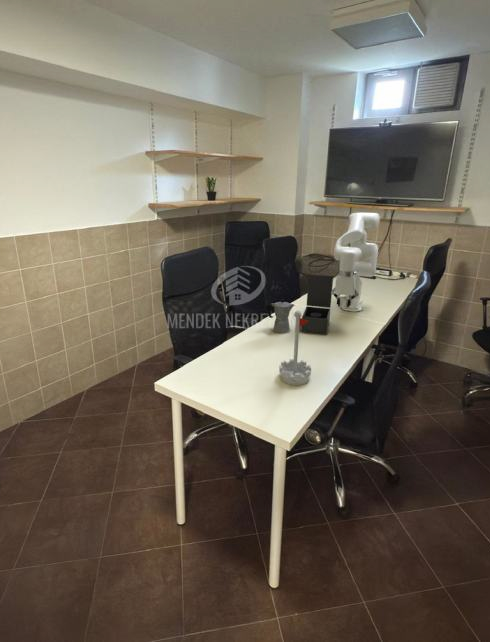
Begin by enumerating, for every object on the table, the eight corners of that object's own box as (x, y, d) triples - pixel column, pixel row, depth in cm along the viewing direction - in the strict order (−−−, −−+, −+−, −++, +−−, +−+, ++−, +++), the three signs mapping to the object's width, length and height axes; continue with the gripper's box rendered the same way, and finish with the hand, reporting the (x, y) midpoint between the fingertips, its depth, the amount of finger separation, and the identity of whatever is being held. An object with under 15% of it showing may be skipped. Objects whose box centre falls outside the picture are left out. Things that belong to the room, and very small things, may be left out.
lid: (333, 275, 201) (333, 275, 205) (308, 274, 205) (309, 273, 209) (330, 307, 203) (331, 306, 208) (306, 305, 208) (307, 304, 212)
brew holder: (313, 326, 202) (314, 311, 199) (322, 329, 197) (323, 314, 195) (307, 329, 198) (308, 314, 195) (316, 332, 194) (317, 317, 191)
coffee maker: (326, 334, 191) (327, 319, 188) (301, 331, 195) (302, 316, 192) (329, 322, 207) (330, 308, 204) (305, 320, 211) (306, 306, 208)
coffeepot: (291, 326, 202) (293, 296, 196) (295, 333, 193) (296, 301, 188) (264, 327, 202) (265, 296, 196) (266, 333, 193) (267, 302, 187)
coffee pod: (342, 304, 195) (342, 295, 194) (349, 306, 192) (350, 297, 190) (337, 306, 192) (338, 297, 191) (344, 308, 189) (345, 299, 188)
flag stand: (289, 389, 141) (292, 319, 132) (273, 373, 153) (275, 308, 143) (316, 382, 146) (321, 313, 137) (299, 367, 158) (302, 303, 148)
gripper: (363, 272, 187) (359, 305, 193) (330, 270, 193) (327, 302, 198) (363, 276, 181) (359, 310, 186) (329, 273, 186) (326, 306, 191)
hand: (343, 305), depth 192 cm, fingers closed on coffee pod, 4 cm apart
